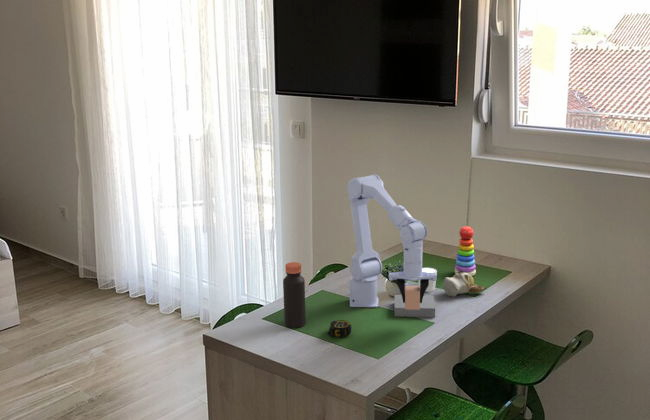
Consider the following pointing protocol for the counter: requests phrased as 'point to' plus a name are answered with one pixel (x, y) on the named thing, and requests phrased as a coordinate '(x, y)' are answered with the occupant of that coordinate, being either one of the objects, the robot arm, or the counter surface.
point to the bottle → (294, 296)
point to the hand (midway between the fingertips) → (412, 301)
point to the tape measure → (339, 328)
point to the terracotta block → (412, 297)
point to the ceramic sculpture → (461, 284)
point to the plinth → (425, 310)
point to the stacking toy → (466, 252)
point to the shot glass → (431, 283)
